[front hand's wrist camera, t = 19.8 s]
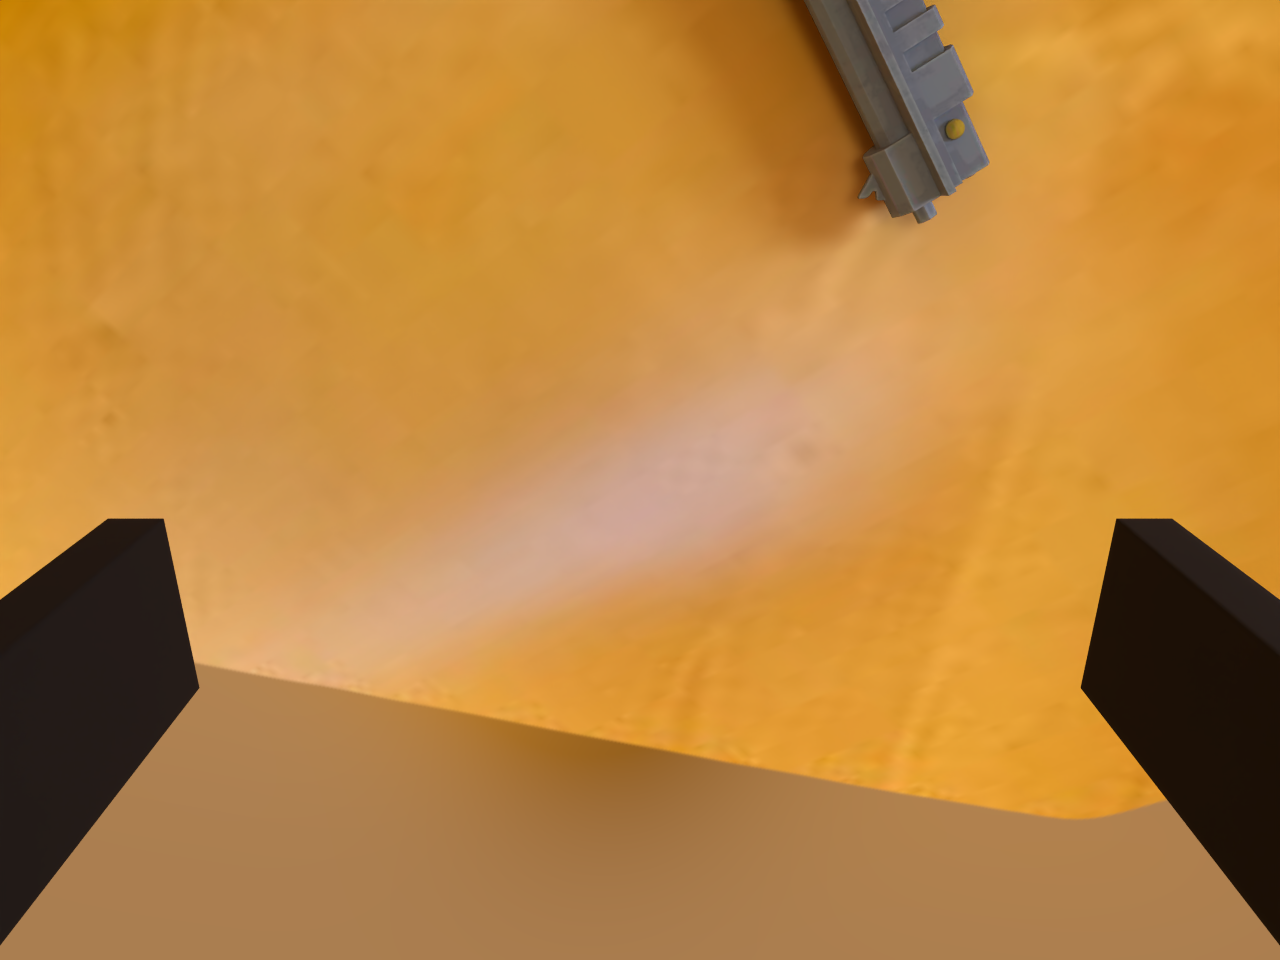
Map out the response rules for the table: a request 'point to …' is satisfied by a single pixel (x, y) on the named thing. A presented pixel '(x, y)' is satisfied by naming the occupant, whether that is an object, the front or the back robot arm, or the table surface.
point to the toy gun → (903, 99)
